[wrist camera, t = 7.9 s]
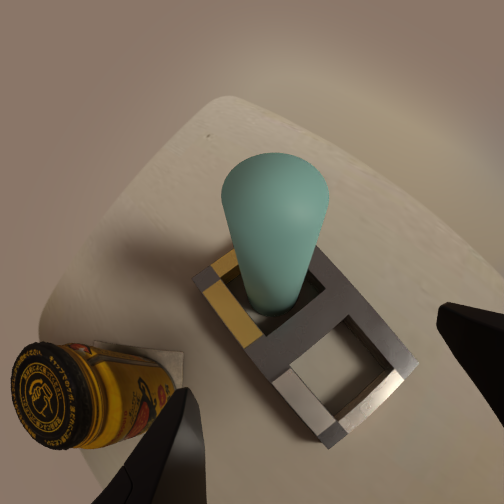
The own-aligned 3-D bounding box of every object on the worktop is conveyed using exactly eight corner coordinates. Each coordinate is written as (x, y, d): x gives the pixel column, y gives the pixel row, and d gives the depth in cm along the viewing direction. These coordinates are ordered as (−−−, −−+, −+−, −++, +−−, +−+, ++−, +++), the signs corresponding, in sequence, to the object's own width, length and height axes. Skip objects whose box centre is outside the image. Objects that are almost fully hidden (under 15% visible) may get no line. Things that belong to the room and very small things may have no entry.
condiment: (181, 440, 17) (98, 489, 7) (91, 419, 18) (-14, 425, 7) (184, 352, 20) (100, 323, 10) (95, 341, 21) (-8, 303, 10)
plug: (281, 326, 21) (297, 260, 9) (237, 299, 22) (199, 207, 10) (307, 283, 22) (344, 179, 10) (264, 259, 23) (258, 140, 11)
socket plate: (323, 443, 17) (329, 450, 15) (197, 286, 23) (190, 277, 20) (407, 365, 19) (420, 363, 17) (283, 225, 24) (285, 210, 22)
